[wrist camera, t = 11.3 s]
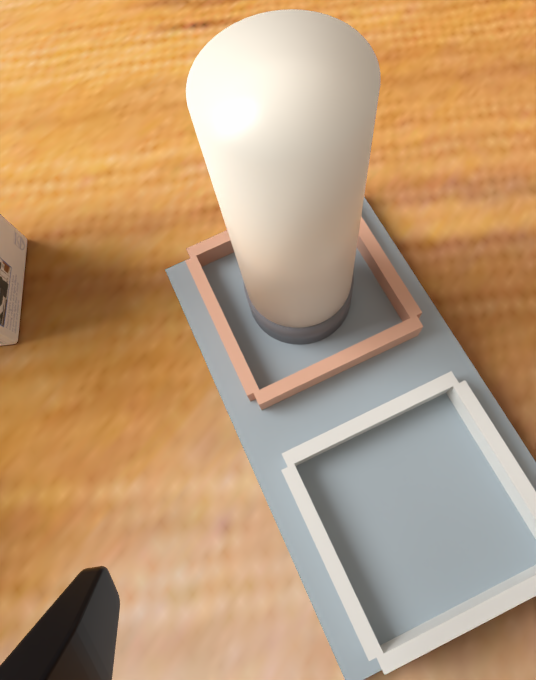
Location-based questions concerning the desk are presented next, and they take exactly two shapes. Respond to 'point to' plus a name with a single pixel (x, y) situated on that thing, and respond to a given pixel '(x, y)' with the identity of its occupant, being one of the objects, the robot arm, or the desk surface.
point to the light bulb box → (11, 280)
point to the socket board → (374, 456)
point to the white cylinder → (289, 160)
